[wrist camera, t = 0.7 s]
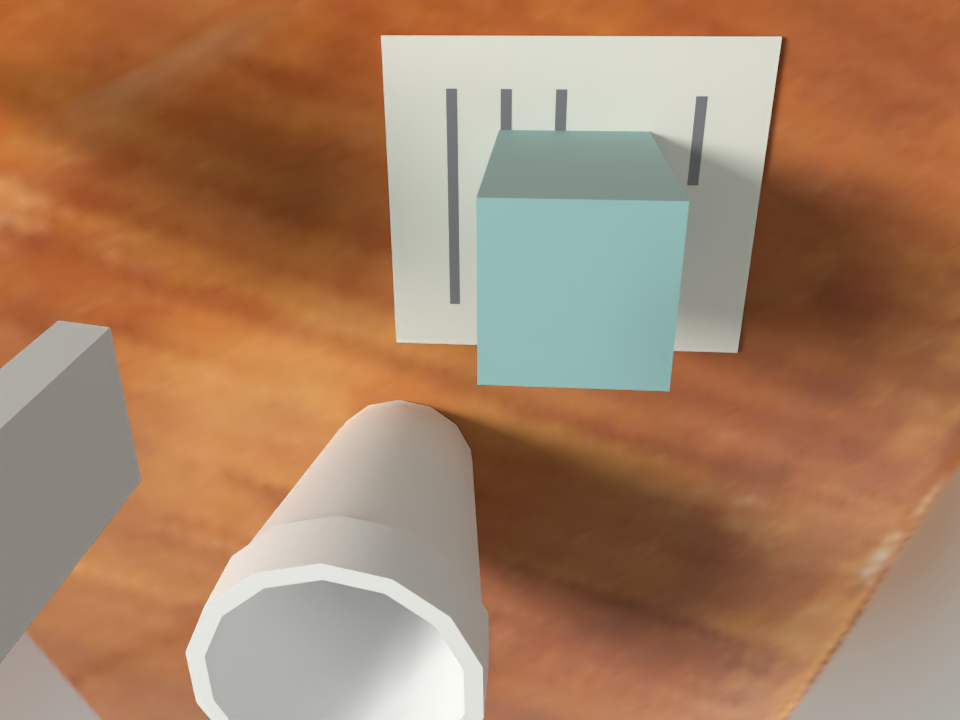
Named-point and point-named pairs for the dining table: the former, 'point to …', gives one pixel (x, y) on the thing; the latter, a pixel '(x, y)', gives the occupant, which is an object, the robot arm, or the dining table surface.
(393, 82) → the letter
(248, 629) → the foam cup
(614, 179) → the block
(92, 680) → the dining table surface
